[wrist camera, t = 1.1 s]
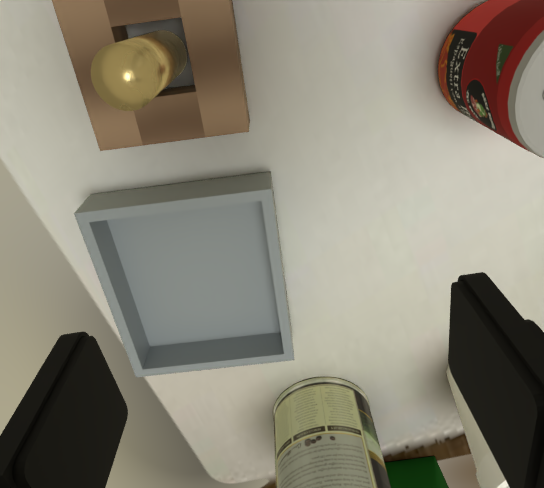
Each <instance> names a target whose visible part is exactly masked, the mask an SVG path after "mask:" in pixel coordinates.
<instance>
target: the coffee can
mask: <svg viewBox="0 0 544 488" xmlns="http://www.w3.org/2000/svg"><path fill="white" fill-rule="evenodd" d="M273 419H274V435H275V470H276V488H391V486H390V482H389V478H388V475H387V471H386V467H385V464H384V460H383V456H382V453H381V449H380V445H379V442H378V438H377V434H376V430H375V427H374V423H373V419H372V416H371V412H370V406H369V401H368V399H367V397H366V395H365V394H364V392H363V391H362V390H361V389H360V388H359V387H357V386H356V385H354V384H353V383H351V382H349V381H346V380H343V379H339V378H332V377H318V378H311V379H308V380H304V381H301V382H298V383H296V384H294V385H293V386H291V387H289V388H288V389H287V390H285V391H284V392H283V393H282V394H281V395H280V397H279V398H278V400H277V401H276V403H275V406H274V409H273Z"/></svg>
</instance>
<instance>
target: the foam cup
mask: <svg viewBox="0 0 544 488" xmlns="http://www.w3.org/2000/svg"><path fill="white" fill-rule="evenodd" d="M446 374H447V377H448V381H449V384H450V387H451V390H452V393H453V396H454V400H455V403H456V406H457V409H458V412H459V415H460V419H461V422H462V425H463V428H464V431H465V434H466V438H467V441H468V444H469V447H470V450H471V453H472V456H473V460H474V463H475V466H476V469H477V473H476V477H477V480H478V483H479V485H480V488H510V487H509V485H508V483H507V482H506V480H505V478H504V476H503V474H502V472H501V470H500V468H499V466H498V464H497V462H496V460H495V458H494V456H493V454H492V452H491V450H490V448H489V447H488V445H487V443H486V441H485V439H484V437H483V435H482V433H481V431H480V429H479V427H478V425H477V423H476V421H475V419H474V417H473V415H472V413H471V412H470V410H469V408H468V406H467V404H466V402H465V400H464V398H463V396H462V394H461V392H460V390H459V388H458V386H457V384H456V382H455V380H454V378H453V377H452V374H451V372H450V368H449V364H448V367H447V370H446Z"/></svg>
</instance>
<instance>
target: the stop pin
mask: <svg viewBox="0 0 544 488" xmlns="http://www.w3.org/2000/svg"><path fill="white" fill-rule="evenodd" d="M186 63H187V51H186V48H185V46H184V44H183V42H182V41H181V39H180V38H179V37H178V36H176V35H175V34H174V33H172V32H169V31H165V30H158V31H154V32H151V33H148V34H144V35H141V36H137V37H134V38H130V39H127V40H124V41H120V42H117V43H113V44H110V45H107V46H105V47H103V48H102V49H101V50H99V52H98V53H97V54H96V55H95V57H94V59H93V61H92V65H91V79H92V83H93V86H94V88H95V90H96V92H97V93H98V95H99V96H100V97H101V98H102V99H103V100H104V101H105V102H106V103H107V104H108V105H110V106H112V107H114V108H116V109H119V110H123V111H134V110H138V109H141V108H142V107H144V106H145V105H147V104H148V103H149V102H150V101H151V100H152V99H153V98H154V97H156V96H157V95H158V94H159V93H160V92H161V91H162V90H163V89H164V88H165V87H166V86H168V85H169V84H170V83H171V82H172V81H173V80H174V79H175V78H176V77H177V76H179V75H180V74H181V73H182V71H183V70H184V68H185V66H186Z"/></svg>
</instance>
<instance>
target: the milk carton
mask: <svg viewBox="0 0 544 488" xmlns="http://www.w3.org/2000/svg"><path fill="white" fill-rule="evenodd" d="M384 464H385V467H386V471H387V475H388V478H389V482H390V486H391V488H449V487H448V485H447V483H446V481H445V478H444V476H443V474H442V472H441V470H440V467H439V465H438V463H437V461H436V458H435V456H431V457H424V458H416V459H409V460H401V461H394V462H386V463H384Z"/></svg>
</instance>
